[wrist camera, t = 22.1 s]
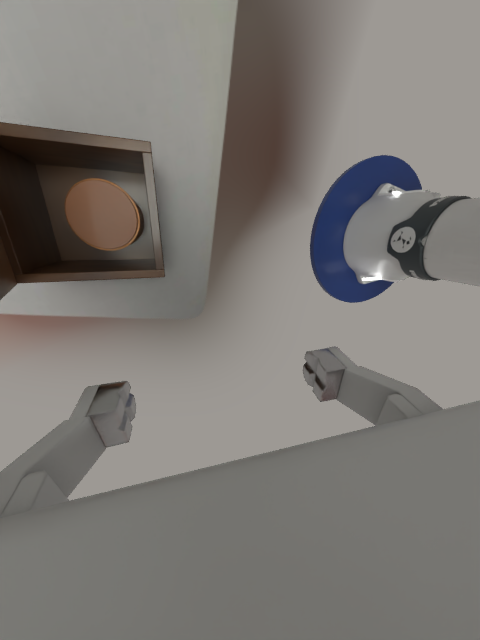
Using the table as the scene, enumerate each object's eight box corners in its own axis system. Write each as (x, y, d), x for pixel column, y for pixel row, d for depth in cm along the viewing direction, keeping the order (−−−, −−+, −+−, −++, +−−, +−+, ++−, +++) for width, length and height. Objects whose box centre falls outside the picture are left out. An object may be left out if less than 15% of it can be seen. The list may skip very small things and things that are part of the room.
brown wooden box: (152, 168, 28) (150, 141, 19) (163, 263, 32) (164, 277, 23) (27, 155, 24) (-47, 115, 15) (58, 266, 28) (14, 283, 20)
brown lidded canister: (140, 192, 27) (134, 179, 20) (147, 245, 30) (143, 251, 23) (82, 188, 26) (52, 173, 18) (94, 245, 28) (72, 251, 21)
